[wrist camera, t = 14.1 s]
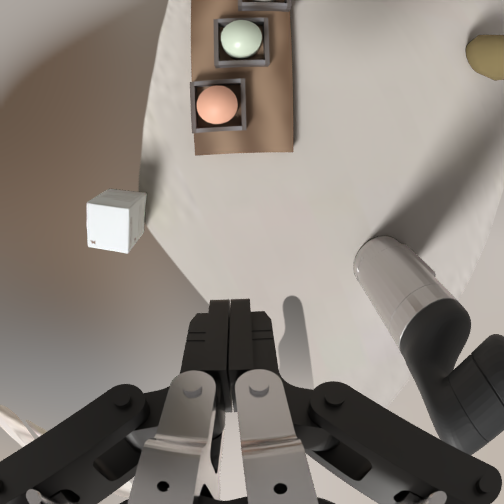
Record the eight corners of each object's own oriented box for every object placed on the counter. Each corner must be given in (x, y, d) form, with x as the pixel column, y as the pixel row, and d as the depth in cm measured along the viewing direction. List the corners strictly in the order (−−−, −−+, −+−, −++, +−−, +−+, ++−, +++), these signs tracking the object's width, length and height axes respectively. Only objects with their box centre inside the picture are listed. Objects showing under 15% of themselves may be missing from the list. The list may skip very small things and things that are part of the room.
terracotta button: (237, 87, 30) (237, 84, 27) (238, 122, 32) (238, 122, 29) (199, 89, 30) (195, 87, 27) (201, 124, 32) (197, 125, 29)
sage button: (259, 27, 27) (261, 19, 24) (260, 59, 28) (262, 53, 26) (222, 28, 26) (220, 20, 24) (222, 60, 28) (221, 55, 26)
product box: (145, 232, 40) (128, 255, 34) (107, 226, 40) (86, 247, 33) (147, 191, 38) (129, 208, 31) (108, 187, 37) (85, 202, 30)
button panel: (284, -34, 24) (288, -46, 20) (290, 150, 36) (296, 154, 32) (194, -31, 24) (190, -44, 20) (197, 153, 36) (192, 157, 32)
